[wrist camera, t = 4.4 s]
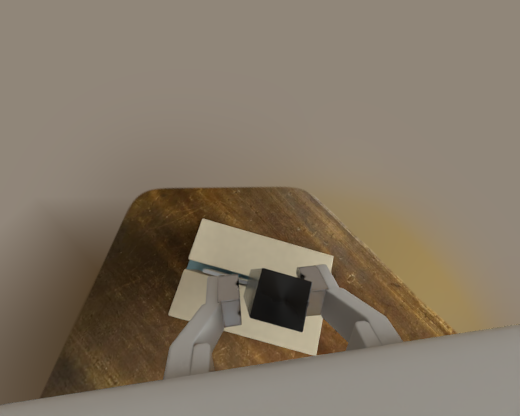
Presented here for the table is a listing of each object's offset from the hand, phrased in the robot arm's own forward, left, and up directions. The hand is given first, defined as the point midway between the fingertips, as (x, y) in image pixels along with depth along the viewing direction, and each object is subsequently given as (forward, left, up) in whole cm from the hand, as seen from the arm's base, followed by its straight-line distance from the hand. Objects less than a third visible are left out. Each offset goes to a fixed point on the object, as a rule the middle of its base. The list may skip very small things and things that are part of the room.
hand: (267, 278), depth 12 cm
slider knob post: (0, -1, -10) cm, 10 cm away
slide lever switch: (0, -1, -14) cm, 14 cm away
